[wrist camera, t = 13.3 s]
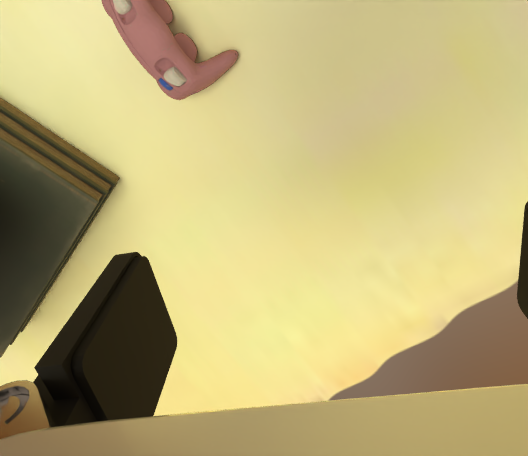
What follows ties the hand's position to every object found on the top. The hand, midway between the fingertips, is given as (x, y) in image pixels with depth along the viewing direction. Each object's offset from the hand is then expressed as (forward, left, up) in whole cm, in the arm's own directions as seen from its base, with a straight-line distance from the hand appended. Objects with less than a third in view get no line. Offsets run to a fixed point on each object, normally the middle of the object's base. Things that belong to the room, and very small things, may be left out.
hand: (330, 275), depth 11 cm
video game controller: (+9, -6, -29) cm, 31 cm away
